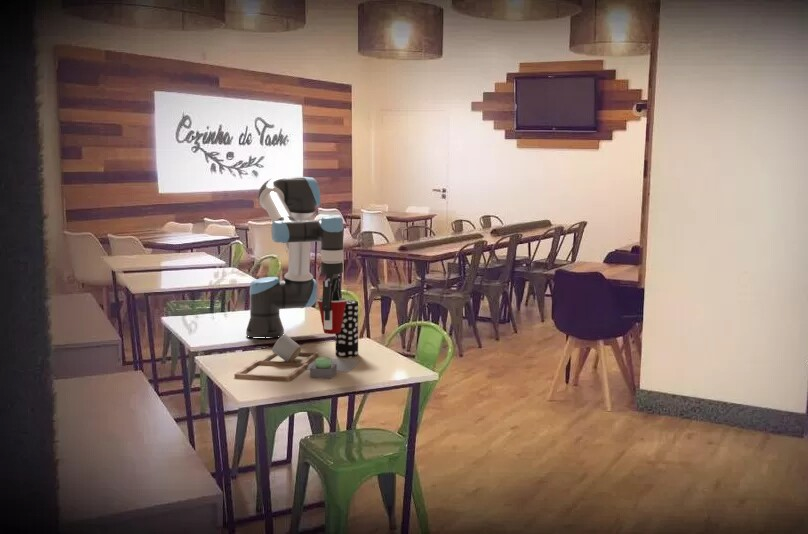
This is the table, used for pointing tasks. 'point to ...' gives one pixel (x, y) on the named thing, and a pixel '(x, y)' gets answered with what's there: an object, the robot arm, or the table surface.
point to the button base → (323, 372)
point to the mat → (339, 364)
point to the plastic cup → (334, 315)
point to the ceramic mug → (286, 348)
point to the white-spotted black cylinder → (348, 332)
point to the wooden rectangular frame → (266, 361)
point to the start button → (323, 362)
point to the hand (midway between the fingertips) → (332, 326)
